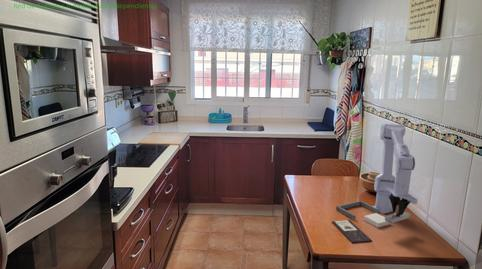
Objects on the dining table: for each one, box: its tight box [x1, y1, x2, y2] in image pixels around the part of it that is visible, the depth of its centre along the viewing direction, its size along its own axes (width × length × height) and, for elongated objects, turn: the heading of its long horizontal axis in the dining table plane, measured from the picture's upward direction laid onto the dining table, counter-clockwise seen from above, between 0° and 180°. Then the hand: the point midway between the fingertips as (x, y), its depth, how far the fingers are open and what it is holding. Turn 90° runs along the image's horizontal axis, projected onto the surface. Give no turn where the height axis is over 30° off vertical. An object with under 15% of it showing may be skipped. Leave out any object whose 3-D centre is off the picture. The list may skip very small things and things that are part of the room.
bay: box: [335, 200, 380, 221], centre depth 164 cm, size 17×12×2 cm
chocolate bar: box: [331, 219, 373, 244], centre depth 144 cm, size 9×1×18 cm
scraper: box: [384, 203, 410, 224], centre depth 143 cm, size 12×3×7 cm, turn 119°
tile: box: [363, 212, 391, 228], centre depth 153 cm, size 8×8×2 cm
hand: (397, 213), depth 143 cm, fingers closed on scraper, 2 cm apart
